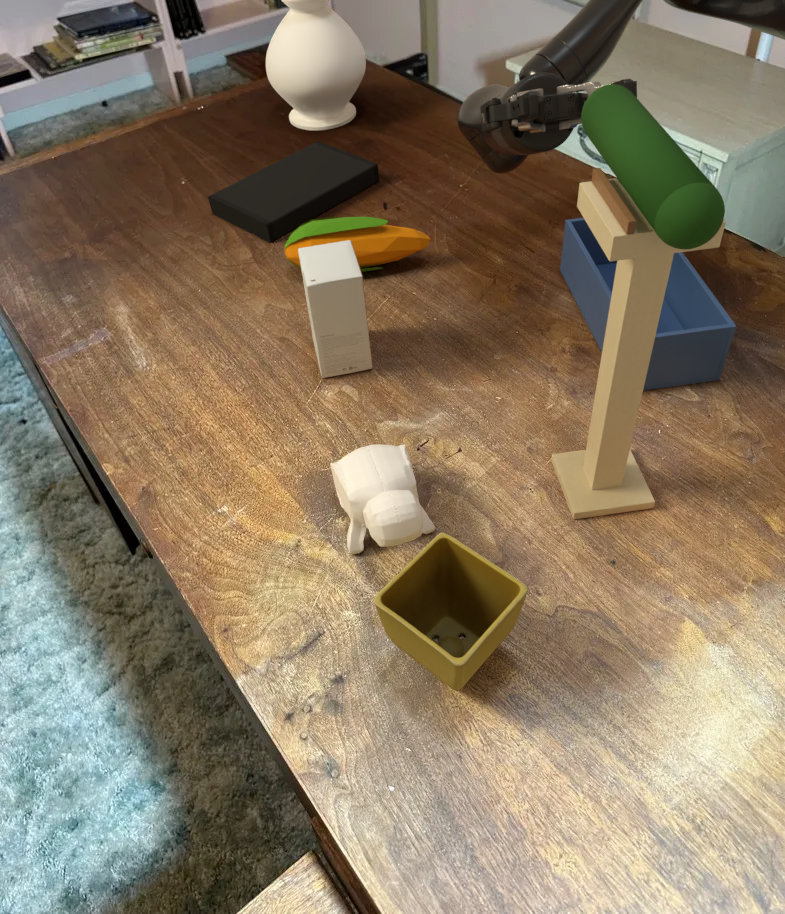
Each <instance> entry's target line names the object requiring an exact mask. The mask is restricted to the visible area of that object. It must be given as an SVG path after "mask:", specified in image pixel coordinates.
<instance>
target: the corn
mask: <svg viewBox="0 0 785 914" xmlns="http://www.w3.org/2000/svg"><path fill="white" fill-rule="evenodd" d="M388 222H389V221H388V219H384V218H379V217H372V216H344V217H343V216H328V217H319V218H312V219H311V220H309V221H307V222H305V223H303V224H301V225H300V226H298V227H297V228H295V229H293V230H291V231H290V233H289V236H288V237H287V239H286V241H285V243H284V247H283V250H284V256H285V258H286V260H287V261H288V262H289V263H290V264H292V266H294V267H296V268H298V269H299V270H301V265H300V259H299V254H298V249H299V248H303V247H309V246H316V245H322V244H328V243H334V242H340V241H347V240H351V242H352V245H353V248H354V251H355V254H356V257H357V260H358V263H359V266H360V269H361V272H362V273H364V272H370V271H377V270H383V269H384V268H383V267H379V266H380V265H384V264H388V263H393V262H398V261H400V260H402V259H404V258H406V257H409V256H411V255H413V254H416V253H417V252H420V251H422V250H423V249H425V248H427V247H428V246H429V245H430V243H431V240H432V239H431V237H430V236H429V235H428V234H426V233H424V232H423V231H420V230H418V229H415V228H411V227H403V226H396V225H391V224H388ZM375 266H376V267H375Z"/></svg>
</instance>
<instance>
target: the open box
mask: <svg viewBox="0 0 785 914" xmlns="http://www.w3.org/2000/svg"><path fill="white" fill-rule="evenodd" d="M616 266H617V261H611V262H610V261H609V260H608V258H607V256H606V255H605V253H604V251H603V250H602V248H601V246H600V245H599V243H598V241H597V239H596V238H595V236H594V234H593V233H592V231H591V229H590V228H589V226H588V224H587V223H586V221H585V219H584V218H583V217H577V218H570V219H569V218H568V219H565V220H564V230H563V239H562V249H561V258H560V268H559V271H560V273H561V275H562V278H563V279H564V281H565V283H566V285H567V287H568V290H569V291H570V293H571V294H572V297H573V299H574V301H575V303H576V305H577V307H578V309H579V312H580V313H581V316H582V317H583V319H584V321H585V323H586V325H587V327H588V329H589V331H590V332H591V334H592V336H593V339H594V341H595V342H596V345H597V347H598V348H599V351H600V352H601V353H602V350H603V344H604V338H605V332H606V326H607V320H608V314H609V308H610V302H611V296H612V290H613V284H614V278H615V272H616ZM736 329H737V325H736V323H735V322H734V320H732V318H731V316H730V315H729V314H728V313H727V311H726V310H725V309H724V307H723V305H722V304H721V303H720V302H719V300H718V299H717V298H716V296H715V294H714V293H713V291H712V290H711V289H710V288H709V286H708V285H707V283H706V282H705V281H704V279H703V278H702V277H701V275H700V274H699V273H698V271H697V270H696V268H695V267H694V266H693V264H692V262H690V260H689V259H688V257H687V256H686V255H685V253H684V252H679V253H674V256H673V260H672V265H671V269H670V274H669V278H668V282H667V287H666V291H665V296H664V300H663V304H662V309H661V313H660V318H659V322H658V327H657V331H656V335H655V340H654V344H653V349H652V353H651V358H650V362H649V366H648V371H647V375H646V380H645V384H644V389H643V392H644V391H649V390H658V389H665V388H671V387H672V388H673V387H678V386H687V385H693V384H700V383H708V382H715V381H720V379H721V376H722V373H723V370H724V367H725V364H726V360H727V357H728V355H729V351H730V349H731V345H732V342H733V339H734V335H735V332H736Z"/></svg>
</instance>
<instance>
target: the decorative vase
mask: <svg viewBox="0 0 785 914" xmlns="http://www.w3.org/2000/svg"><path fill="white" fill-rule="evenodd" d="M280 1H281V2H282V3H283V4H284V5H285V6H287V7H288V8H289V10H288V11H287V13H286V14H285V16H284V17H283V18H282V20H281V21H280V23H278V25H277V28H276V29H275V31H274V33H273V35H272V37H271V39H270V41H269V44H268V46H267V50H266V54H265V72H266V77H267V80H268V82H269V84H270V85H271V87H272V88H273V90H274V91H275V92H276V93H277V94H278V95H279V96H280V97H281V98H282V100H284V101H285V102H286V103H287V104H288V105H289V106H290V107H292V109H291V111H290V112H289V113H288V121H289V123H290V124H291V125H292V126H293V127H295V128H297V129H300V130H305V131H328V130H332V129H336V128H339V127H343V126H345V125H347V124H349V123H350V122H352V121H353V120H354V119H355V117H356V115H357V108H356V106H355V105H354V104H353V103H352V102H350V101H351V99H352V98H353V97H354V95H355V94H356V91H357V90H358V88H359V86H360V85H361V83H362V81H363V79H364V77H365V75H366V70H367V60H366V59H367V58H366V53H365V49H364V47H363V44H362V42H361V40H360V38H359V37H358V35H357V34H356V33H355V32H354V31H355V30H353V29H352V27H351V26H350V25H349V24H348V23H347V22H346V21H345V20H344V19H343V18H342V17H341V16H340V15H339V14H338V13H337V12H336V11H334V9H332V8H331V7H329V6H328V2H329V1H330V0H280Z"/></svg>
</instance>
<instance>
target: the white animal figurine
mask: <svg viewBox="0 0 785 914" xmlns="http://www.w3.org/2000/svg"><path fill="white" fill-rule="evenodd" d="M330 470H331V474H332V480H333V484H334V487H335V491H336V495H337V499H338V502H339V505H340V507H341V508H342V509H343V510H344V512H346V514H347V516H348V518H349V520H350V524H349V526H348V530H347V534H346V547H347V550H348V553H349V554H350V555H356V554H360V553H362V552H363V551H364V547H365V545H364V540H365V536H366V533H367V530H368V531H369V535H370V537H371V538H372V539H373V540H374V541H375V543H376V544H377V545H378V546H379V547H381V548H383V547H384V548H385V547H386V548H387V547H388V548H389V547H395V546H398V545H403V544H405V543H409V542H412V541H414V540H416V539H418V538H419V537H421V536H422V535H423V534H424V535H428V534H431V533H434V531H435V530H436V526H435V525H434V523H433V521H432V519H431V518H430V517H429V515H428V514H427V512H426V510H425V509H424V507H423V506H422V505H421V504H420V498H419V493H418V488H417V479H416V477H415V473H414V469H413V466H412V462H411V459H410V455H409V451H408V448H407V446H406V444H405V443H404V444H400V445H393V444H379V443H377V444H369V445H365V446H361V447H358V448H356V449H353V450H352V451H350V452H349V453H347V454H345V455H344V456H343V457H341V458H340V459H339V460H337V461H334V462H331V463H330Z"/></svg>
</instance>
